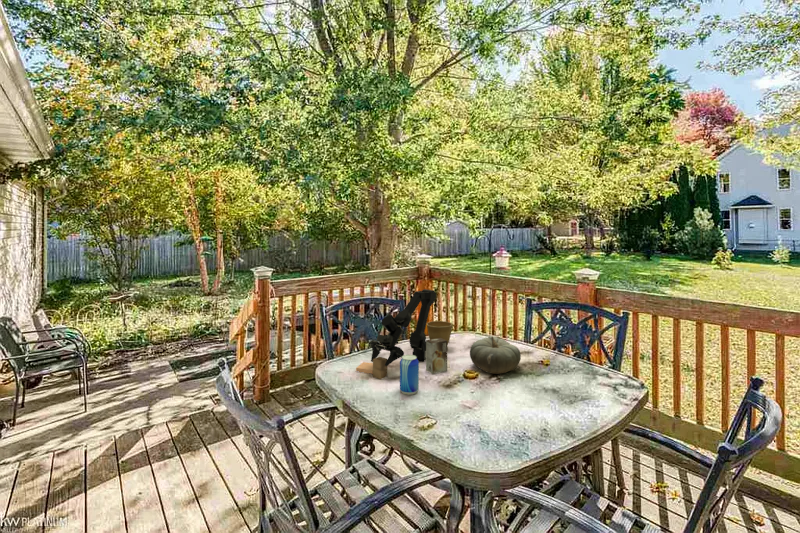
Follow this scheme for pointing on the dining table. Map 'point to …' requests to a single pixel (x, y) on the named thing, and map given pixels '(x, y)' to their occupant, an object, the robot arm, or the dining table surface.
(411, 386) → the beer can
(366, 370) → the terracotta tile
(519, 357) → the gourd
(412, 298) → the robot arm
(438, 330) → the plant pot
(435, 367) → the coffee box
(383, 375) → the walnut block
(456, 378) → the dining table surface
